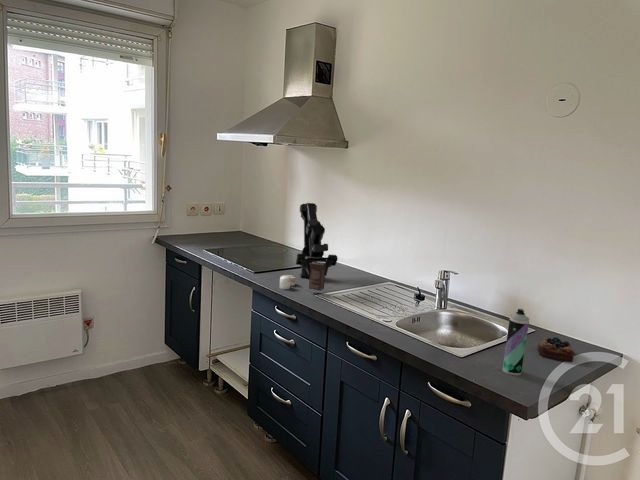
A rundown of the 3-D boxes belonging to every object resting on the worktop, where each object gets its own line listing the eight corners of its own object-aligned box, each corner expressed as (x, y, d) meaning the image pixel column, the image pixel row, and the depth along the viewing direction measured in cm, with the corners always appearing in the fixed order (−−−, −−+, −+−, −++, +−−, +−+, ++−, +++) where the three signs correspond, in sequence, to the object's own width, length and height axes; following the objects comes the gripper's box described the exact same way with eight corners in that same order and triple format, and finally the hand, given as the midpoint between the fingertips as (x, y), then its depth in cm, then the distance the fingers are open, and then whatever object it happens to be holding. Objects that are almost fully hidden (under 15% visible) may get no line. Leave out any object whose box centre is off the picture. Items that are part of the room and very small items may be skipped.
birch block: (281, 283, 233) (282, 275, 232) (291, 283, 235) (291, 275, 234) (284, 286, 228) (285, 277, 228) (294, 285, 230) (295, 277, 230)
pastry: (539, 358, 162) (541, 341, 161) (535, 346, 173) (538, 330, 172) (575, 364, 158) (578, 347, 157) (569, 351, 170) (572, 336, 169)
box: (324, 288, 220) (326, 263, 218) (320, 291, 216) (322, 265, 214) (312, 286, 223) (314, 261, 221) (308, 288, 219) (309, 263, 217)
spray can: (500, 367, 151) (508, 305, 148) (518, 368, 151) (527, 307, 148) (505, 374, 146) (514, 311, 143) (523, 376, 146) (533, 313, 142)
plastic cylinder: (279, 286, 227) (279, 276, 226) (289, 286, 228) (290, 276, 227) (279, 289, 222) (280, 278, 221) (290, 289, 223) (291, 279, 222)
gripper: (298, 236, 217) (299, 265, 209) (338, 237, 221) (341, 267, 212) (294, 249, 226) (296, 278, 218) (333, 251, 230) (336, 279, 221)
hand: (317, 275), depth 217 cm, fingers closed on box, 7 cm apart
